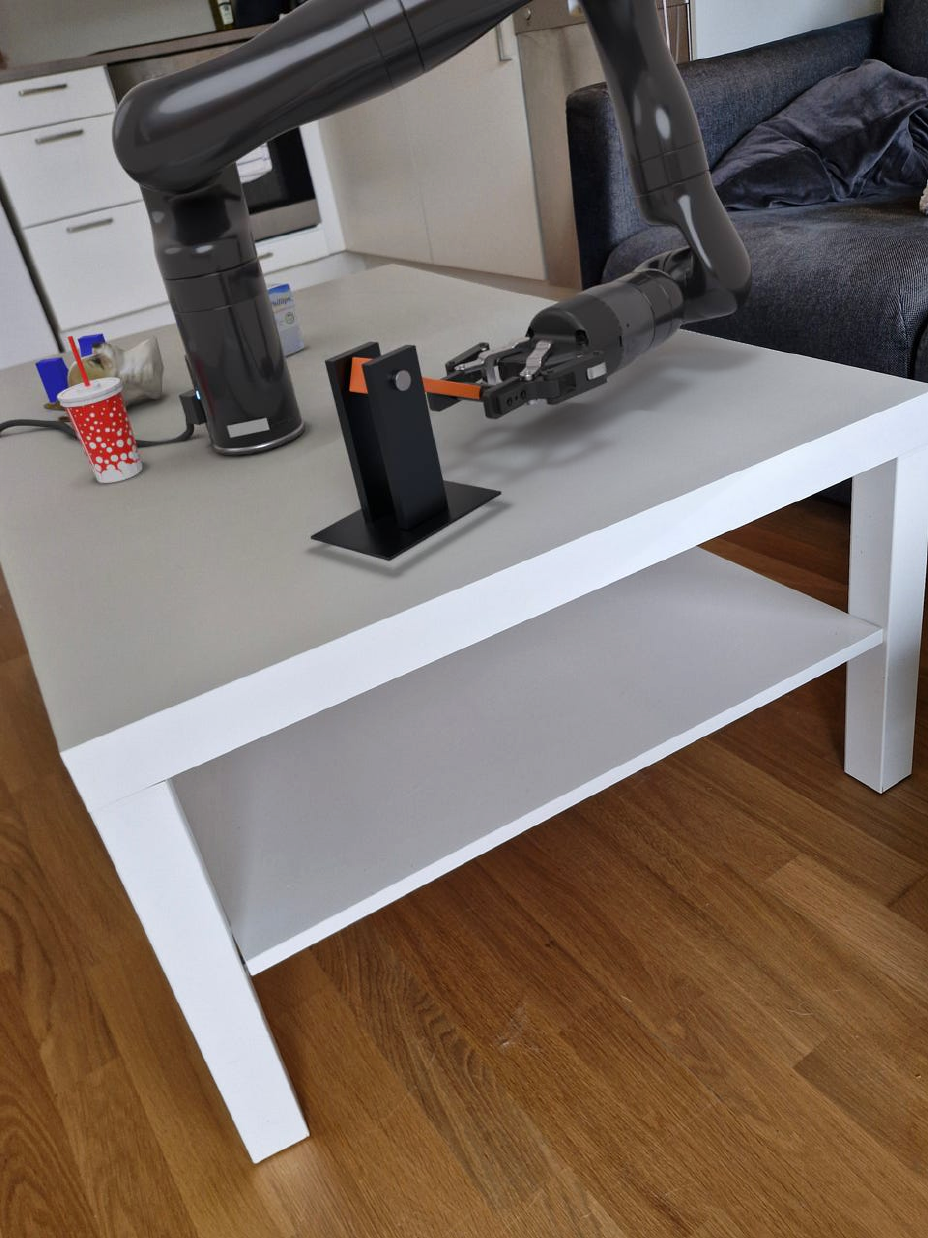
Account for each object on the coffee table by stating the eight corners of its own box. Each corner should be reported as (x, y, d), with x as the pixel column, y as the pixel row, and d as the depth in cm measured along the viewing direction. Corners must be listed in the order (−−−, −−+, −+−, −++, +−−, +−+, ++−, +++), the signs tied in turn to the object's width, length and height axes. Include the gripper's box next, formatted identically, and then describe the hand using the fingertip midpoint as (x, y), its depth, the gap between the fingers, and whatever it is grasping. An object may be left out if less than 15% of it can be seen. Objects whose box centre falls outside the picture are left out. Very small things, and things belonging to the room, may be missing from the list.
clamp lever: (459, 405, 84) (463, 375, 84) (510, 412, 81) (514, 380, 80) (334, 389, 75) (337, 355, 74) (384, 395, 71) (388, 360, 71)
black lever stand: (424, 489, 86) (388, 324, 79) (504, 506, 80) (473, 329, 73) (314, 551, 79) (265, 376, 73) (392, 574, 73) (347, 386, 67)
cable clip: (89, 380, 143) (73, 337, 140) (117, 376, 142) (102, 333, 139) (42, 410, 133) (24, 364, 130) (72, 406, 132) (55, 360, 129)
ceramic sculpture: (161, 326, 120) (36, 372, 115) (189, 397, 125) (69, 444, 119) (139, 317, 129) (21, 360, 124) (165, 383, 133) (52, 427, 128)
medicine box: (243, 356, 139) (225, 291, 135) (268, 346, 142) (251, 281, 137) (281, 359, 134) (263, 291, 130) (306, 348, 137) (289, 281, 132)
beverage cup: (161, 465, 104) (114, 327, 98) (108, 489, 101) (55, 348, 94) (130, 458, 108) (83, 325, 102) (79, 481, 105) (25, 345, 98)
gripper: (522, 291, 93) (386, 350, 83) (656, 294, 83) (520, 361, 74) (534, 372, 97) (405, 438, 87) (664, 384, 87) (535, 460, 77)
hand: (459, 403), depth 80 cm, fingers closed on clamp lever, 5 cm apart
